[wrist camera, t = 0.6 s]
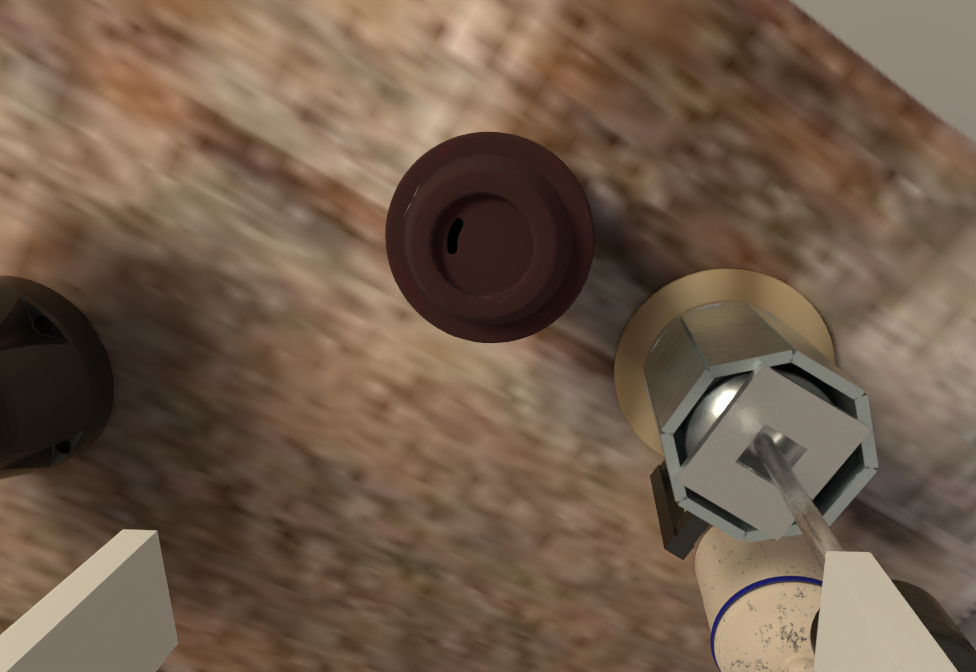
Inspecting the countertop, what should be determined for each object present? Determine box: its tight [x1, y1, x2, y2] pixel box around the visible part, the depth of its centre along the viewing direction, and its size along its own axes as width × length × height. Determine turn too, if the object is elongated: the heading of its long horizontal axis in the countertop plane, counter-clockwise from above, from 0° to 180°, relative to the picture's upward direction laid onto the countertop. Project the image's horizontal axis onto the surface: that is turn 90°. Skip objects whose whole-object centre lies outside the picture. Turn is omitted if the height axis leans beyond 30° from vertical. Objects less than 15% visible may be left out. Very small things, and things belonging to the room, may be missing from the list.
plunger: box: [684, 368, 976, 672], centre depth 26 cm, size 8×8×19 cm
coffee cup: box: [385, 132, 594, 343], centre depth 38 cm, size 10×10×15 cm
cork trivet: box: [614, 268, 835, 457], centre depth 45 cm, size 14×14×1 cm
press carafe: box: [643, 300, 878, 560], centre depth 40 cm, size 10×13×12 cm
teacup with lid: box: [695, 526, 824, 672], centre depth 43 cm, size 12×9×12 cm
